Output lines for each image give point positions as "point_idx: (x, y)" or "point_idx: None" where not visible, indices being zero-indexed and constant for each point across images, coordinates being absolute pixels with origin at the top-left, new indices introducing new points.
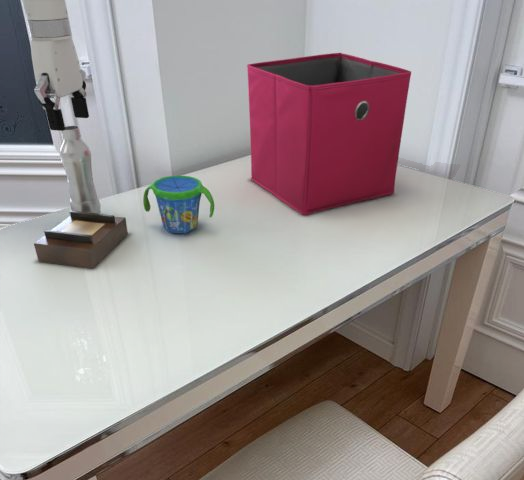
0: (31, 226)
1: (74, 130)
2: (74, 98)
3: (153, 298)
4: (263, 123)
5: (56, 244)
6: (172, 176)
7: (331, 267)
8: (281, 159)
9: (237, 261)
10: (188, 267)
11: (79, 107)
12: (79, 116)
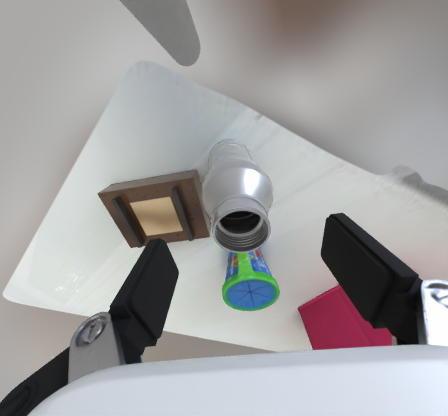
0: (167, 95)
1: (230, 250)
2: (387, 291)
3: None
4: None
5: (115, 216)
6: (272, 284)
7: (227, 330)
8: (351, 332)
9: (210, 300)
10: (186, 283)
11: (346, 267)
12: (326, 234)
